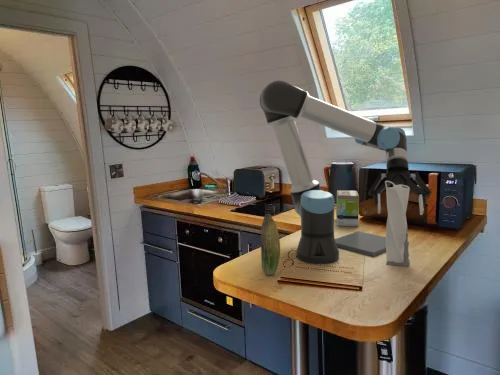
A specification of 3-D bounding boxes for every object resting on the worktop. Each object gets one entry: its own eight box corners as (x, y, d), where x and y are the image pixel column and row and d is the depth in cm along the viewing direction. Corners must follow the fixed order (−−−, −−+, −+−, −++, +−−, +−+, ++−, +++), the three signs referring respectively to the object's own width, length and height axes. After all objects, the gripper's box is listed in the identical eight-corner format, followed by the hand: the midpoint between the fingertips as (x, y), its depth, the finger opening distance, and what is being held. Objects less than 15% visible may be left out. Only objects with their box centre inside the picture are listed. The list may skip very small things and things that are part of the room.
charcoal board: (373, 256, 138) (373, 252, 138) (328, 244, 153) (328, 241, 153) (402, 244, 150) (402, 240, 150) (358, 234, 166) (358, 231, 165)
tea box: (358, 226, 178) (359, 195, 176) (336, 226, 180) (336, 195, 178) (356, 218, 193) (357, 189, 191) (336, 218, 195) (336, 189, 193)
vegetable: (280, 271, 127) (279, 212, 123) (281, 278, 120) (280, 216, 117) (261, 271, 127) (260, 212, 124) (261, 279, 121) (260, 217, 118)
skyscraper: (381, 264, 130) (383, 182, 126) (383, 256, 138) (385, 178, 133) (408, 266, 127) (411, 183, 123) (409, 259, 134) (412, 179, 130)
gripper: (432, 169, 142) (438, 219, 130) (361, 169, 149) (361, 216, 137) (435, 156, 136) (442, 207, 124) (362, 157, 143) (362, 205, 131)
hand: (400, 212), depth 131 cm, fingers open, 13 cm apart
